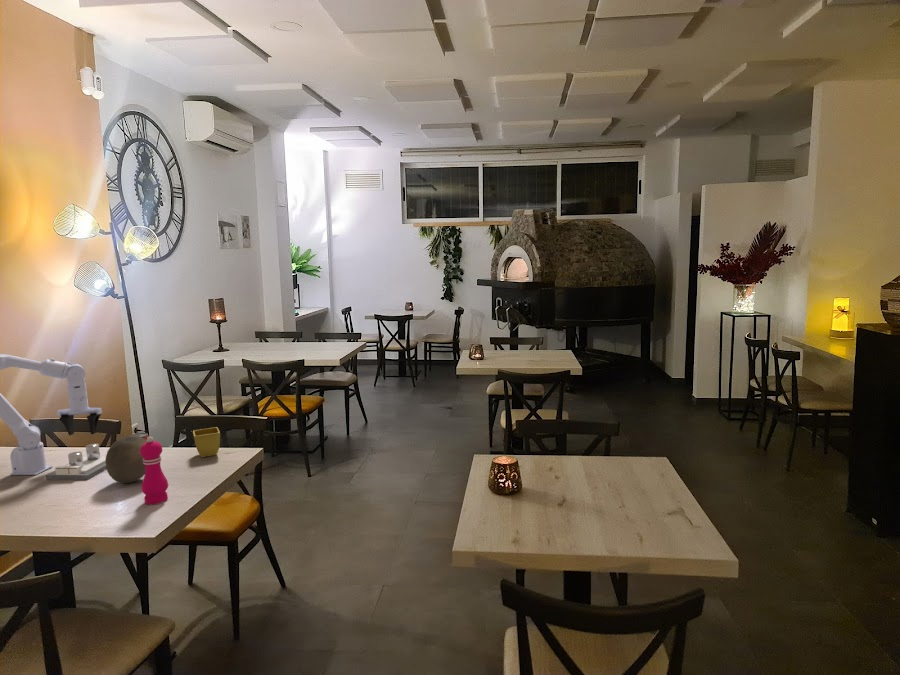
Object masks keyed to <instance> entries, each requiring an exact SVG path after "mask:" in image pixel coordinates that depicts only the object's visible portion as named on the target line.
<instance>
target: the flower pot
mask: <svg viewBox="0 0 900 675" xmlns="http://www.w3.org/2000/svg"><path fill="white" fill-rule="evenodd" d="M192 434H193V439H194V444H195V447H196V450H197V453H198V455H199V456H200V457H201V458H205V457H206V456H207V457H212V455H213V456H216V455H217V454H218V452H219V449H220V445H221V432H220V430H219V428H218V427H217V426H216V427H215V426H214V427H209V428H203V429H202V428H201V429H195V430H193V431H192Z"/></svg>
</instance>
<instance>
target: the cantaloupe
mask: <svg viewBox="0 0 900 675" xmlns="http://www.w3.org/2000/svg"><path fill="white" fill-rule="evenodd" d="M146 442H147V440H145V439H143V438H141V437H139V436H131V435H128V436H124V437H121V438H120V439H117V440H115V441H114V442H113V443H112V444H111V446H110V447H109V448H108V450H107V453H106V455H105V457H106V460H105V461H106V468H107V469H106V471H107V474H108V475H109V476H110V478H111V479H112V480H114V481H116V482H117V483H120V484H131V483H134V482H136V481H138V480H140V479H141V478H142V477H144V476H145V464H143V457H142V456H141V454H140V448H141V446H142V445H143V444H144V443H146Z"/></svg>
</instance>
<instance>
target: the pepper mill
mask: <svg viewBox="0 0 900 675" xmlns="http://www.w3.org/2000/svg"><path fill="white" fill-rule="evenodd" d="M162 453H163V446H162V444H161V443H160V442H159V441H157V440H154V437H153V436H149V437H148V438H147V442H146V443H144V444H143V445H142V446H141V448H140V454H141V456H142V457H143V464H145V475H144V476H143V477H144V478H143V479H142V482H141V492H142V493H143V494H144V495H145V496H144V497H143V499H144V504H146V505H150V504H152V505H159V504H161V502H162V503H164V502H166V501H167V500H168V497H169V496H168V492H167V491H166V490H168V487H169V483H168V482H169V481H168V480H167V479H168V478H167V477H166V476H165V473H164V472H163V470H162V467H161V462H162V456H161V454H162ZM163 501H164V502H163ZM158 503H159V504H158Z"/></svg>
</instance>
